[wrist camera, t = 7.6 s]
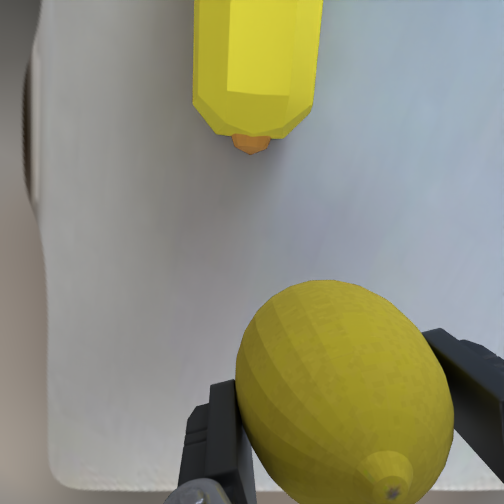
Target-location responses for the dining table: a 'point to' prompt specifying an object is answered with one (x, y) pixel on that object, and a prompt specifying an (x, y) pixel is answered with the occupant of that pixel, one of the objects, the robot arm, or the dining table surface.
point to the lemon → (343, 397)
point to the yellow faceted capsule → (255, 67)
